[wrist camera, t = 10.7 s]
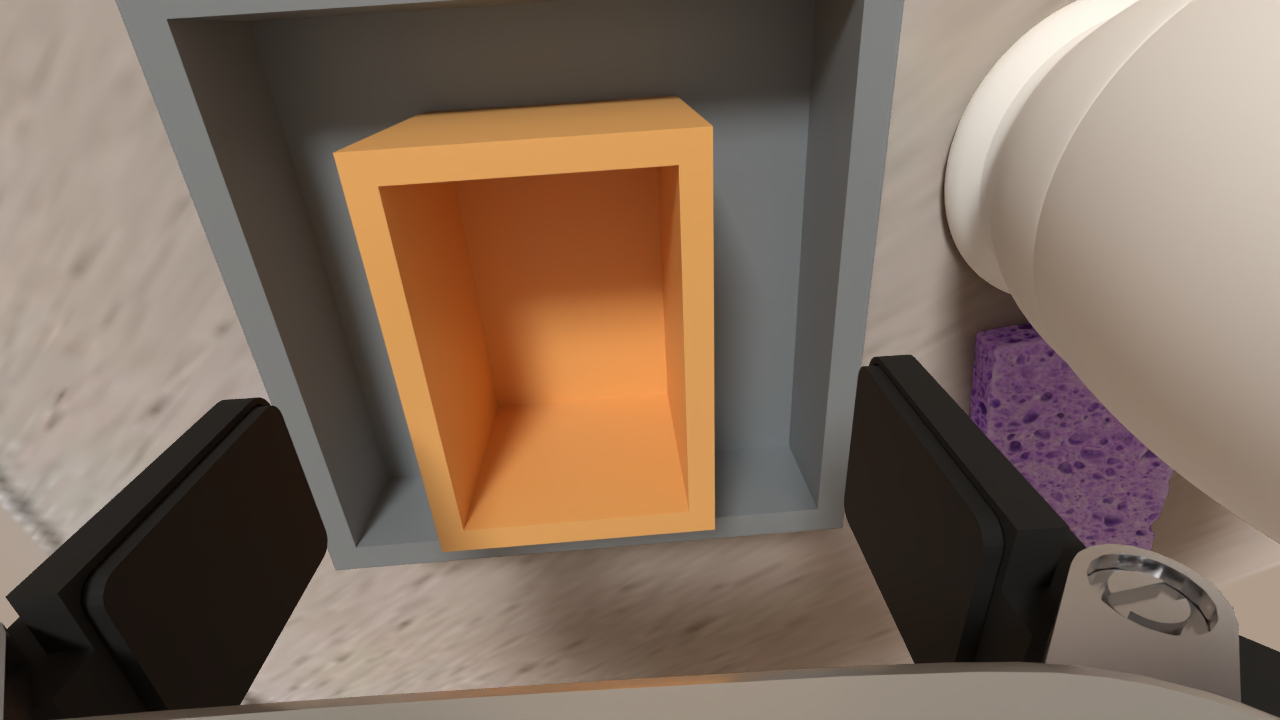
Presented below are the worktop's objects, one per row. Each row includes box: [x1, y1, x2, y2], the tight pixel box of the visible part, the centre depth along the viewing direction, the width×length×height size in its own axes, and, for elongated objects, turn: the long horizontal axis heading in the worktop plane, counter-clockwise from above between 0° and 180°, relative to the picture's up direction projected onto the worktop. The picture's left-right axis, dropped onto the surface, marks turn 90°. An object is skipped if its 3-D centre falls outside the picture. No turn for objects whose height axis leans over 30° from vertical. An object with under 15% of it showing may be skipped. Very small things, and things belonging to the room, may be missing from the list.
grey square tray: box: [115, 0, 904, 570], centre depth 17 cm, size 15×15×4 cm
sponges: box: [969, 322, 1174, 551], centre depth 23 cm, size 7×13×2 cm, turn 9°
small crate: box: [333, 95, 715, 552], centre depth 15 cm, size 6×9×6 cm
